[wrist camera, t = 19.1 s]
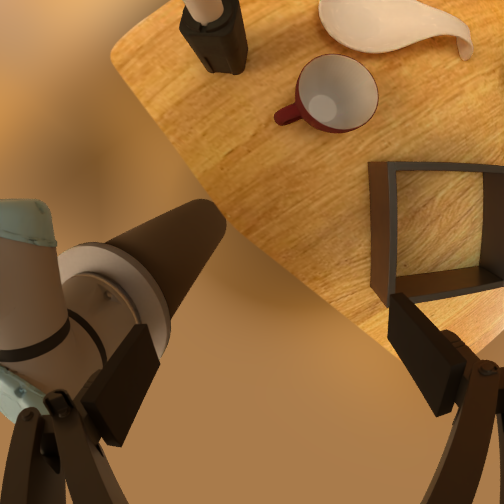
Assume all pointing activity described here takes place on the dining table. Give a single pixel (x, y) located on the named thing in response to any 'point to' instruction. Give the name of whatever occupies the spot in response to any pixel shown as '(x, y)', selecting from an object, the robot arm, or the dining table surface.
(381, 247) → the dark rectangular frame
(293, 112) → the mug
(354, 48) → the spoon rest
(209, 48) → the candle
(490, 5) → the dining table surface
